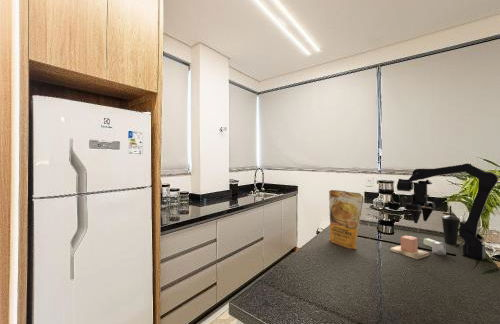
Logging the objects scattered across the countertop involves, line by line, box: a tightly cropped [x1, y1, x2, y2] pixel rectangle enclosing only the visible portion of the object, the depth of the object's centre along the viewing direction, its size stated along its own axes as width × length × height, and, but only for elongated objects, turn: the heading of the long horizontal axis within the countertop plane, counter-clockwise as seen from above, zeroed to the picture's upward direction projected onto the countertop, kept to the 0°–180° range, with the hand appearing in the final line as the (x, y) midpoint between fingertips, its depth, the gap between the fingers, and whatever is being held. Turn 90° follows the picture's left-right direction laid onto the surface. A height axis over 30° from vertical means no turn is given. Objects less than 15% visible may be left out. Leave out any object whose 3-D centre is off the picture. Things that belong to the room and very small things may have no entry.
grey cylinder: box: [431, 240, 447, 256], centre depth 111 cm, size 5×5×5 cm
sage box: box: [423, 237, 435, 248], centre depth 121 cm, size 6×3×3 cm, turn 7°
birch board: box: [389, 244, 430, 260], centre depth 111 cm, size 12×10×1 cm
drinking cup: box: [441, 205, 461, 245], centre depth 125 cm, size 8×8×20 cm
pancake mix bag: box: [328, 189, 364, 250], centre depth 123 cm, size 7×19×28 cm, turn 31°
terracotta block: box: [400, 235, 419, 253], centre depth 111 cm, size 5×5×6 cm
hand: (420, 222), depth 122 cm, fingers open, 9 cm apart
